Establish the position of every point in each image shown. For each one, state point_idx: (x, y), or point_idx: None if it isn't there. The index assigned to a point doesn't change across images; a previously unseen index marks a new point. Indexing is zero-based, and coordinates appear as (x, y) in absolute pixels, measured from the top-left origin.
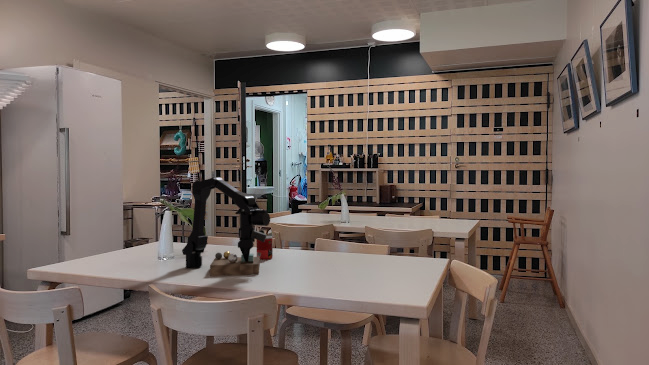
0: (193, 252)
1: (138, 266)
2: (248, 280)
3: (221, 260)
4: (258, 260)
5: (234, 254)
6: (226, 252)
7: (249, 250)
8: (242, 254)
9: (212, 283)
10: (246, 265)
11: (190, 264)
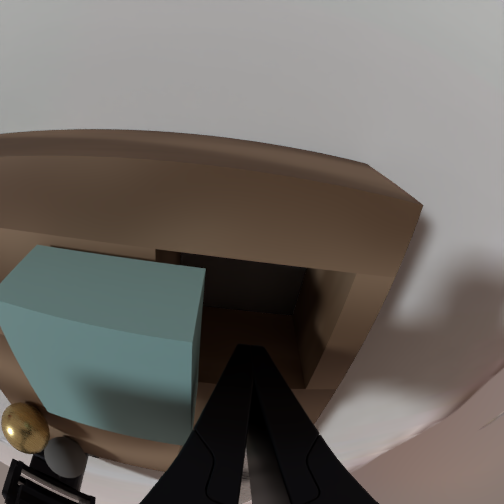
0: (60, 489)
1: (86, 482)
2: (492, 270)
3: (107, 443)
4: (90, 166)
5: (242, 495)
6: (31, 451)
7: (367, 496)
8: (89, 422)
9: (428, 403)
10: (357, 334)
11: (87, 459)
